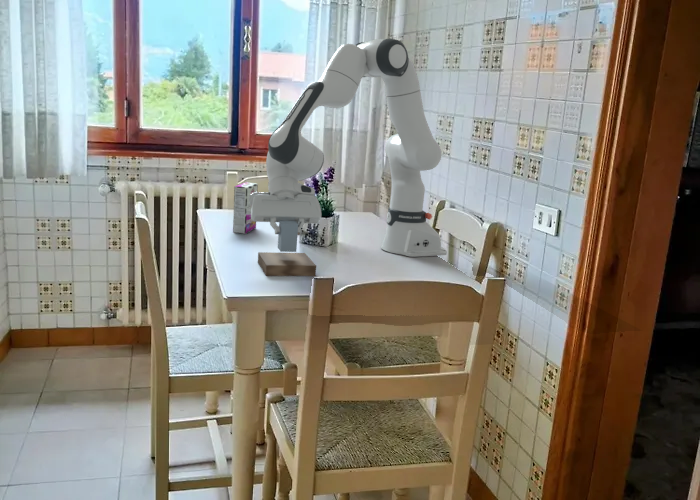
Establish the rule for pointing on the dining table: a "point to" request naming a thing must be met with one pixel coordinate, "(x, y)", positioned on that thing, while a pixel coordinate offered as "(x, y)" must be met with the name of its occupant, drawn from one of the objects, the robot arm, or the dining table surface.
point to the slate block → (288, 236)
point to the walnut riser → (286, 264)
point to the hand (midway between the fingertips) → (288, 233)
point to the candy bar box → (243, 208)
